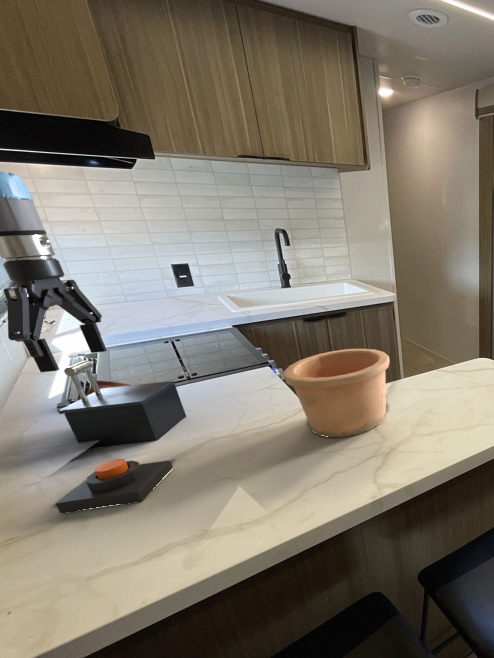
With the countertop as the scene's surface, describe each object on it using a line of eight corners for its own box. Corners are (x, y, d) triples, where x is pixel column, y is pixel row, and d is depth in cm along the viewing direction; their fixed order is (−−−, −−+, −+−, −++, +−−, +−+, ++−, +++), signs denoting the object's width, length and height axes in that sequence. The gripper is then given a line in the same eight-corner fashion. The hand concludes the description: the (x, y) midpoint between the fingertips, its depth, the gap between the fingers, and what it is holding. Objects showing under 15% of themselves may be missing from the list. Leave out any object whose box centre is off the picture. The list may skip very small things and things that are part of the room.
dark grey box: (81, 450, 87) (63, 414, 84) (120, 424, 99) (106, 391, 95) (157, 440, 89) (142, 405, 86) (186, 416, 101) (174, 384, 98)
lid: (59, 414, 84) (40, 374, 81) (102, 391, 95) (87, 356, 92) (142, 404, 86) (127, 366, 83) (174, 383, 98) (162, 349, 95)
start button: (92, 481, 69) (88, 473, 68) (109, 468, 72) (105, 460, 72) (119, 478, 69) (115, 469, 69) (134, 465, 73) (130, 457, 72)
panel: (60, 514, 66) (49, 494, 65) (103, 479, 76) (94, 461, 74) (142, 502, 68) (133, 482, 67) (174, 469, 78) (167, 451, 76)
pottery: (363, 394, 108) (354, 343, 103) (416, 415, 95) (408, 357, 90) (282, 426, 93) (266, 368, 88) (330, 455, 80) (315, 389, 74)
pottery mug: (83, 409, 110) (90, 379, 111) (129, 413, 116) (136, 385, 118) (81, 410, 101) (89, 378, 103) (131, 414, 108) (138, 384, 109)
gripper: (-9, 262, 68) (48, 378, 76) (97, 253, 91) (133, 343, 99) (-63, 265, 67) (1, 383, 74) (59, 256, 90) (98, 346, 97)
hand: (76, 360), depth 87 cm, fingers open, 13 cm apart
